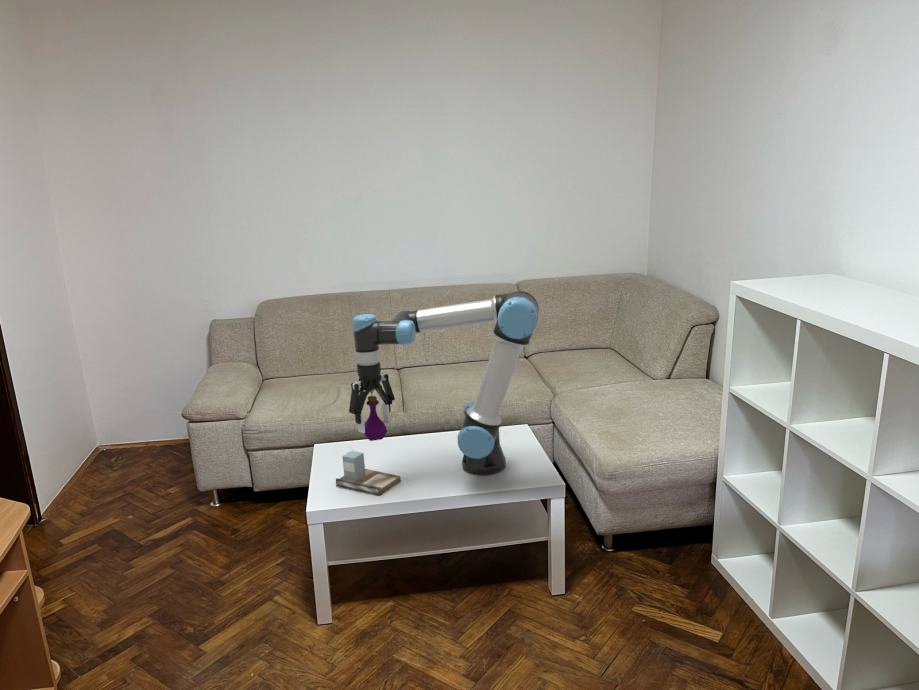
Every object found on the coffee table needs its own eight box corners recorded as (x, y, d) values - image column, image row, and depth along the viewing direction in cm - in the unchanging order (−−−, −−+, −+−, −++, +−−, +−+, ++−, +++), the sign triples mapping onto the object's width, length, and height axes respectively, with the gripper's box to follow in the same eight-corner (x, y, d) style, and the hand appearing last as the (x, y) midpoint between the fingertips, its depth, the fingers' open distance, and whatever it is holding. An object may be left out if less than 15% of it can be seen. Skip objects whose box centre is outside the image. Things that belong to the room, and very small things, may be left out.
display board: (400, 481, 242) (400, 474, 241) (379, 496, 232) (378, 488, 231) (358, 472, 251) (357, 465, 250) (336, 486, 241) (335, 479, 240)
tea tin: (365, 474, 244) (363, 452, 242) (356, 480, 239) (353, 458, 237) (354, 472, 246) (351, 450, 244) (344, 478, 242) (342, 456, 240)
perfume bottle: (388, 440, 235) (383, 388, 231) (365, 443, 234) (360, 391, 229) (385, 432, 242) (380, 381, 238) (363, 435, 241) (358, 384, 236)
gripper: (387, 352, 242) (393, 415, 247) (332, 369, 227) (339, 435, 232) (402, 356, 237) (407, 419, 242) (347, 373, 221) (354, 440, 227)
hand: (374, 427), depth 237 cm, fingers closed on perfume bottle, 10 cm apart
